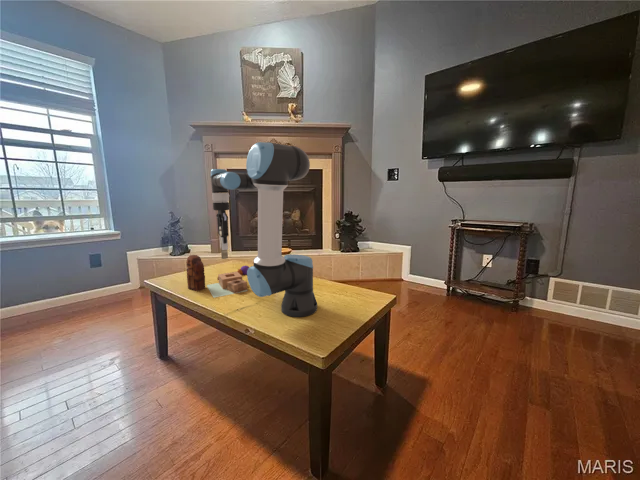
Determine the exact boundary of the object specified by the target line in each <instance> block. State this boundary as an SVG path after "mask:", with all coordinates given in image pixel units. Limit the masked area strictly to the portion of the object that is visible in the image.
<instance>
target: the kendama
mask: <svg viewBox="0 0 640 480" xmlns="http://www.w3.org/2000/svg"><path fill="white" fill-rule="evenodd" d="M250 267H251V266H248V265H243V266H241V267H240V268H239V269H237V271H236V272H238V273H239V274H240V275H241V276H243V275H244V276H245V275H246V276H247V271H248V268H250ZM217 281H219V279H218V277H217Z"/></svg>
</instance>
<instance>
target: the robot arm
mask: <svg viewBox="0 0 640 480" xmlns="http://www.w3.org/2000/svg"><path fill="white" fill-rule="evenodd" d="M245 165H246V172H247V173H244V172H235V171H234V172H233V171H227V170H226V169H225V168H212V169H211V170H210V182H211V183H210V184H211V192H212V193H211V195H212V197H211V198H212V202H213V203H212V209H213V211H217V214H216V215H215V217H216V222H217V223H216V224H217V233H218V235H219V238H220V237H221V240H222V250H227V251H228V250H229V243H228V242H229V241H228V237H229V216H228V214H227V212H226V211H229V210H230V202H229V201H230V196H231V195H230V194H229V191H230V190H249V191H250V190H251V191H253V190H254V191H255V190H256V191H257V256H255V257H254V258H253V265H252V266H249V267H250V268H248V271H247V274H246V276H247V283H248V284H249V286H250V289H251V291H252V292H253V293H254V294H255V295H256V296H257V297H259V298H262V297H267V296H271V295H275V294H279V293H281V292H284V294H283V298H282V301H281V305H280V306H281V307H280V308H281V309H280V310H281V313H283V314H284V315H285V316H288V317H292V318H293V317H294V318H303V317H308V316H311V315H313V314H315V313H317V311H318V302H317V299H316V296H315V293H314V264H313V261H314V260H313V258H311V257H310V256H308V255H303V254H293V253H292V254H285V255H284V256H283V255H282V254H283V253H282V252H283V251H282V249H283V247H282V245H283V216H284V215H283V212H284V211H283V210H284V190H285V189H286V188H287V187H288V186H289V182H294V181H297V180H301V179H303V178H305V177H306V176H307V174H308V173H309V171H310V167H311V164H310V159H309V156H308V154H307V153H306V152H305V151H304V150H303V149H301V148H300V147H298V146H294V145H288V144H287V145H286V144H281V143H275V142H269V141H268V142H262V141H258V142H256V143H254V144H253V145H252V146H251V147H250V149H249V151H248V153H247V158H246V164H245ZM219 227H221V232H222V236H220V230H219V229H220V228H219ZM219 248H220V250H221V243H220V242H219Z"/></svg>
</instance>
